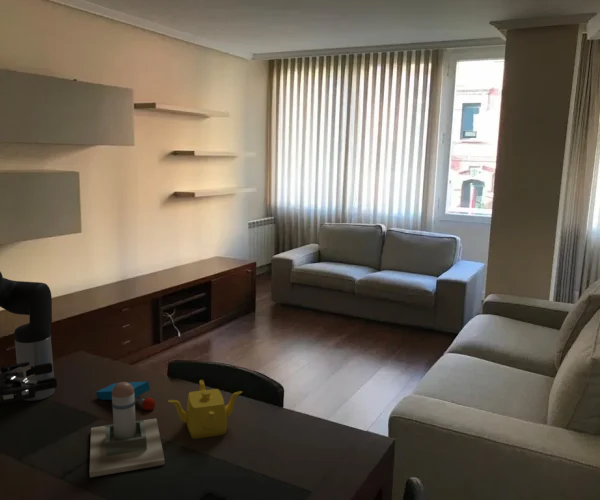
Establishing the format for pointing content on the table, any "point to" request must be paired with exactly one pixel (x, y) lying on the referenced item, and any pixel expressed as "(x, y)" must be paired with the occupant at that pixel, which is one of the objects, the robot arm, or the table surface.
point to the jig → (125, 449)
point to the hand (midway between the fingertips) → (54, 374)
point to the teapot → (206, 412)
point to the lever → (138, 390)
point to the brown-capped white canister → (123, 411)
